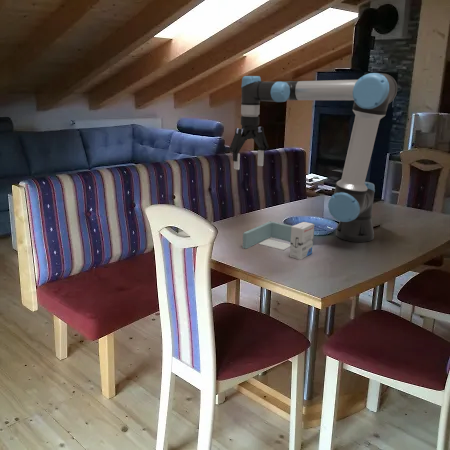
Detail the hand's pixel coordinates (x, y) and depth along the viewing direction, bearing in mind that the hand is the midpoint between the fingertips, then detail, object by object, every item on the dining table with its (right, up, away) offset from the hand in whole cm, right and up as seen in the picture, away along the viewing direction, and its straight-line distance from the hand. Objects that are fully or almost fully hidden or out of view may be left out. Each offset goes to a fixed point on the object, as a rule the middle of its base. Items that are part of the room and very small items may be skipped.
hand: (248, 167), depth 211 cm
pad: (+10, -32, -15) cm, 36 cm away
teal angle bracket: (+11, -32, -17) cm, 38 cm away
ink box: (+18, -35, -26) cm, 47 cm away
